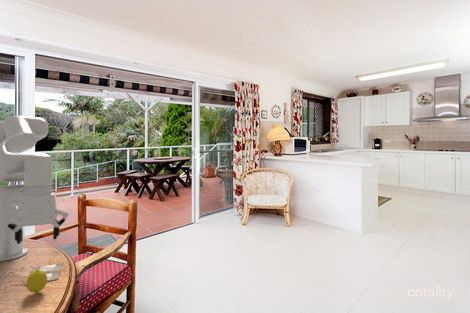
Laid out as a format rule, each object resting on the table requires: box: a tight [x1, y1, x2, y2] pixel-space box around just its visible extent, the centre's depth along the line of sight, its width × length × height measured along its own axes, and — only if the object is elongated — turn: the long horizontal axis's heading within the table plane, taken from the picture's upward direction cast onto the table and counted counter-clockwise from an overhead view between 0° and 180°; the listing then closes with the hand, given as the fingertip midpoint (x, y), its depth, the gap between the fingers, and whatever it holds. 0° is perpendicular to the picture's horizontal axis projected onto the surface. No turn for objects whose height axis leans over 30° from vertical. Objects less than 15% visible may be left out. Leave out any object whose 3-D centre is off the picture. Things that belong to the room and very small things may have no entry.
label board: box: [23, 262, 64, 287], centre depth 95 cm, size 14×10×1 cm
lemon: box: [25, 270, 48, 294], centre depth 83 cm, size 6×6×8 cm
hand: (38, 240), depth 83 cm, fingers open, 9 cm apart
